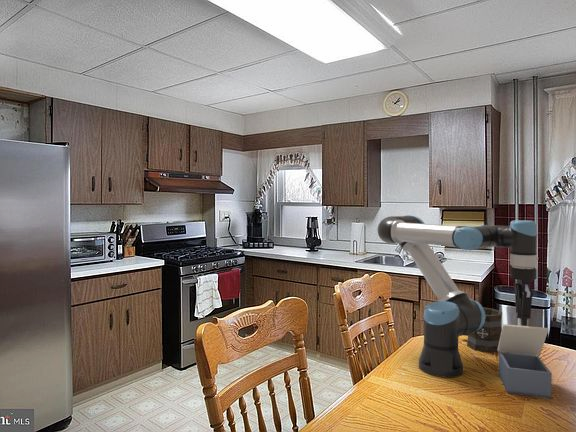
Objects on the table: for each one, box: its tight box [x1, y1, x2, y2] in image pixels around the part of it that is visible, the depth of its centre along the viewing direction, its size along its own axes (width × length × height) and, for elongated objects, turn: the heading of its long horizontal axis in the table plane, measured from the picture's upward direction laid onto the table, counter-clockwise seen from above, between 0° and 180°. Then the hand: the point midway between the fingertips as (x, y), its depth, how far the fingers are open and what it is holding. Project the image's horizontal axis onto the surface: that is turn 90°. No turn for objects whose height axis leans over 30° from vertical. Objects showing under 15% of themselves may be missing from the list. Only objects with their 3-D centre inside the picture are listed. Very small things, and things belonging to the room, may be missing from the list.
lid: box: [497, 323, 549, 357], centre depth 131 cm, size 13×14×1 cm
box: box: [497, 352, 553, 400], centre depth 129 cm, size 12×14×8 cm
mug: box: [464, 307, 503, 354], centre depth 166 cm, size 20×14×15 cm
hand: (522, 336), depth 132 cm, fingers closed
